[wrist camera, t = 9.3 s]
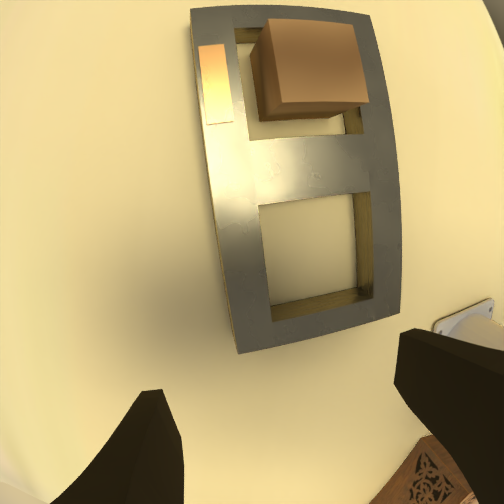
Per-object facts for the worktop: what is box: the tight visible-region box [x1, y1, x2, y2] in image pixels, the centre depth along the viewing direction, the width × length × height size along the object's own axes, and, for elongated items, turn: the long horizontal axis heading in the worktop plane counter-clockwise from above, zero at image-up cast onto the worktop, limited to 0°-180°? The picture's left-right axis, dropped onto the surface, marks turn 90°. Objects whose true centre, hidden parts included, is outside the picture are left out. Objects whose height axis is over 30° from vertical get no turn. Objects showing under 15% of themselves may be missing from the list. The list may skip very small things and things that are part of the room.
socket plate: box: [190, 5, 402, 354], centre depth 15 cm, size 18×10×2 cm, turn 8°
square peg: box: [250, 19, 369, 122], centre depth 13 cm, size 4×4×4 cm
